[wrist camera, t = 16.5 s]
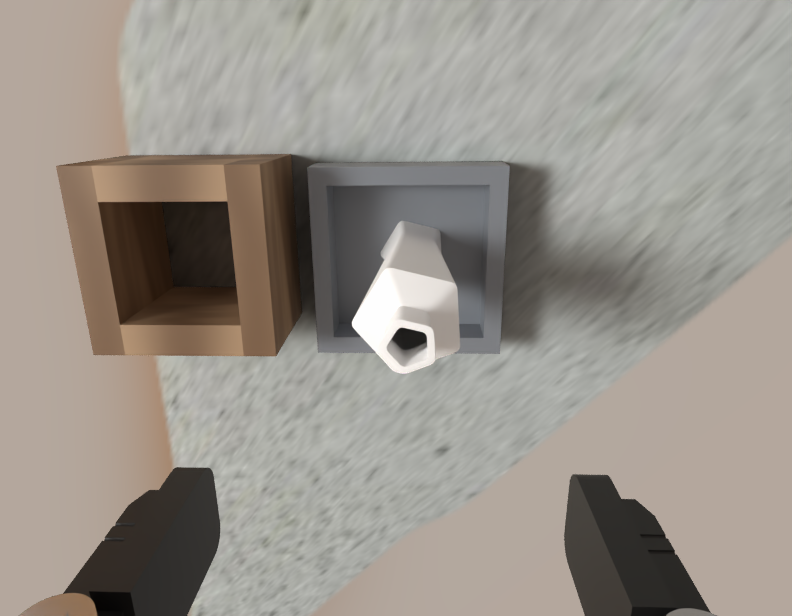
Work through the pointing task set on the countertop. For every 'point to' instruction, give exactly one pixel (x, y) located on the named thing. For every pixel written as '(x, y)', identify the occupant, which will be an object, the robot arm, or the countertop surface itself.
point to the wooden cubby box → (150, 263)
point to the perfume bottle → (411, 302)
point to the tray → (376, 220)
